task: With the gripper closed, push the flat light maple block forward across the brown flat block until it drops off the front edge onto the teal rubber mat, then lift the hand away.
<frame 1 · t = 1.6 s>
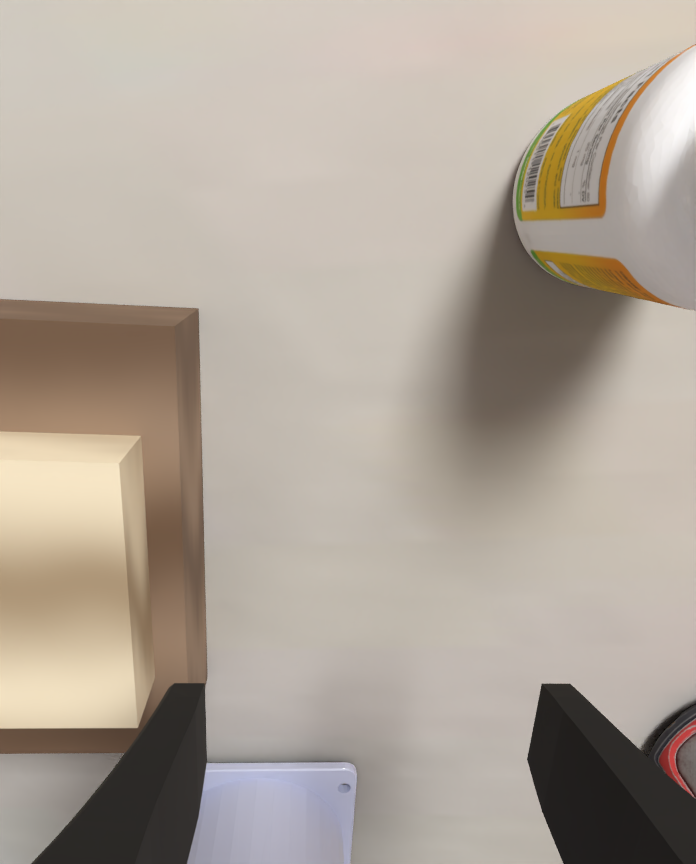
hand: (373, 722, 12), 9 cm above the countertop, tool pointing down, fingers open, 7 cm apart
maple block: (41, 563, 17), point 3 cm above the countertop, touching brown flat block
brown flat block: (54, 509, 21), on the countertop
supplement bottle: (592, 194, 19), on the countertop
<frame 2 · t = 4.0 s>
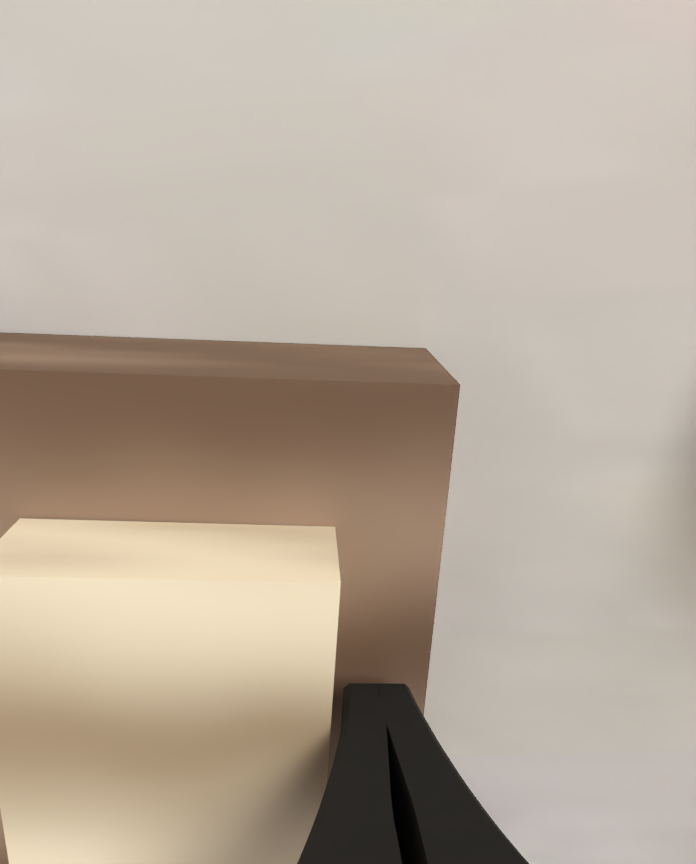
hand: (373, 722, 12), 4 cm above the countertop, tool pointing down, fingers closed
maple block: (185, 689, 13), point 4 cm above the countertop, touching gripper
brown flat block: (220, 597, 16), on the countertop
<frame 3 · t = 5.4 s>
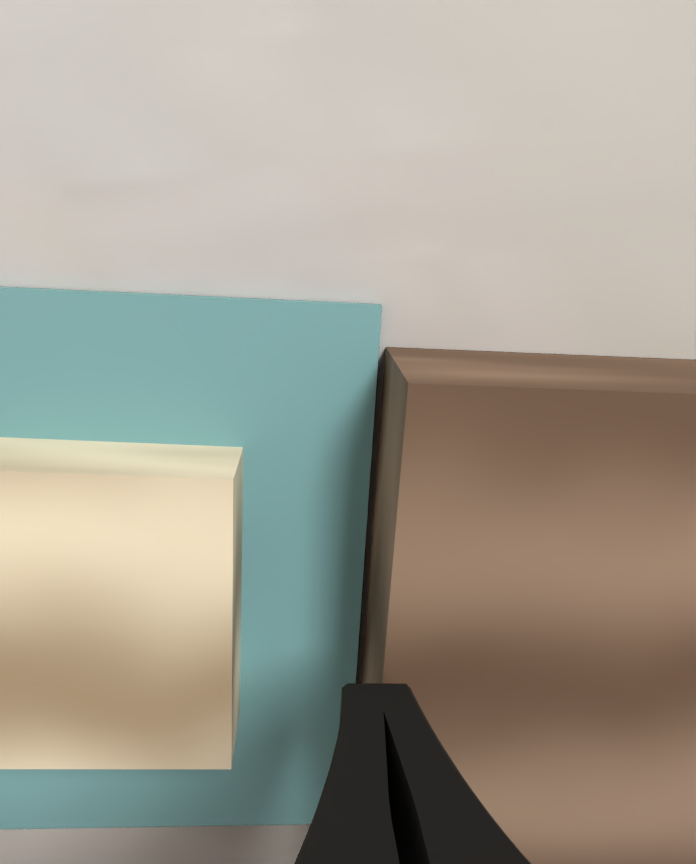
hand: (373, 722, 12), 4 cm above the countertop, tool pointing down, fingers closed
maple block: (100, 635, 14), point 2 cm above the countertop, tilted 180°, touching mat
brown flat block: (544, 600, 17), on the countertop
mat: (160, 596, 16), on the countertop
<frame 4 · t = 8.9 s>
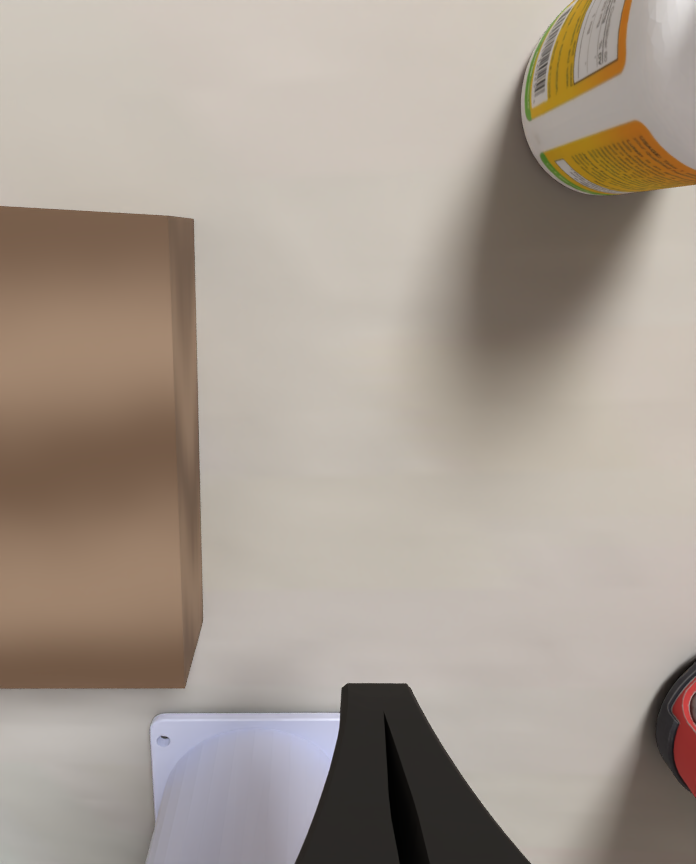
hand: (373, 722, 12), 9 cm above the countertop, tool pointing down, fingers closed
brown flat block: (43, 436, 20), on the countertop
supplement bottle: (603, 99, 18), on the countertop
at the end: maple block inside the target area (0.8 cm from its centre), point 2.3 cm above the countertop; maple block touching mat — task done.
